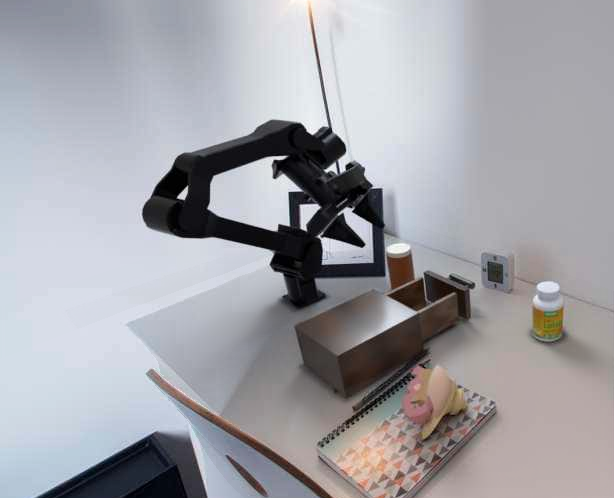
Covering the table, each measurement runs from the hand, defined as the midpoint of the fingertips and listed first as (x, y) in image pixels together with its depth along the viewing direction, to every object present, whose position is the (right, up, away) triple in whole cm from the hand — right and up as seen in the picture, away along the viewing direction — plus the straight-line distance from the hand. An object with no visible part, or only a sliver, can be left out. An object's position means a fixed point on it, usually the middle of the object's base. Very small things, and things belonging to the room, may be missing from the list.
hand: (374, 236), depth 105 cm
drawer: (+12, -16, -6) cm, 21 cm away
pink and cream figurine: (+15, -30, -28) cm, 43 cm away
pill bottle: (+5, -11, +5) cm, 13 cm away
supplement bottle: (+33, -19, -10) cm, 39 cm away
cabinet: (+2, -22, -15) cm, 27 cm away
